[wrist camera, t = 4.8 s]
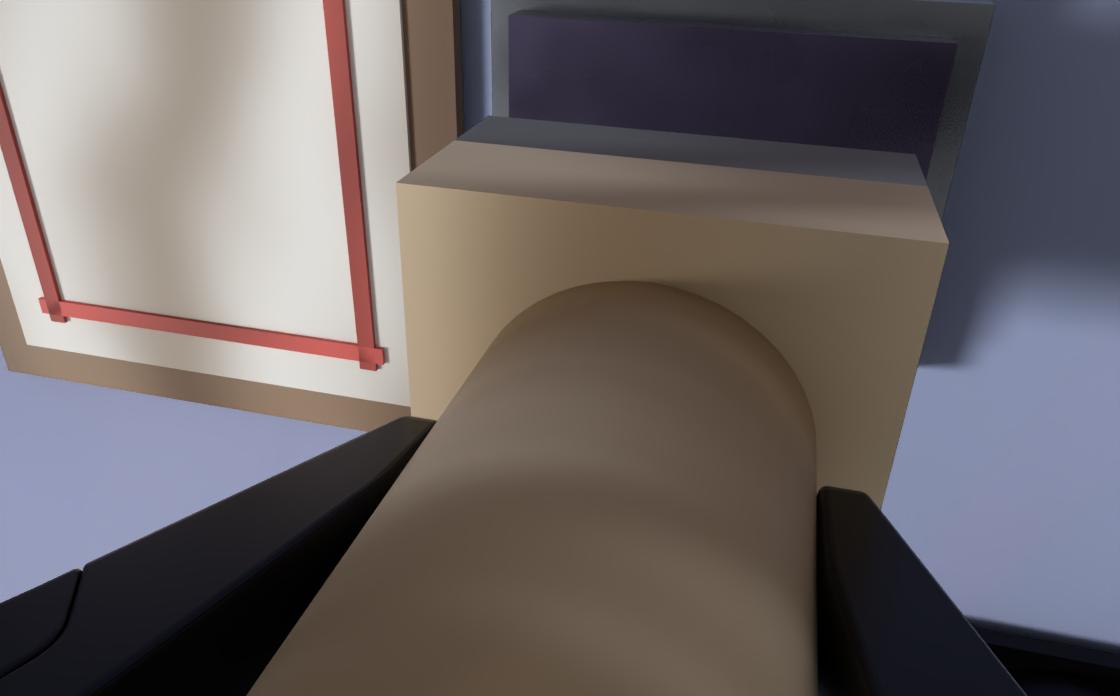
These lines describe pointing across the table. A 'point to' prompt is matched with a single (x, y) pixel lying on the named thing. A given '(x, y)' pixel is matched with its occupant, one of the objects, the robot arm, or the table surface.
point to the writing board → (219, 195)
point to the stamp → (627, 413)
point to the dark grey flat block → (751, 70)
